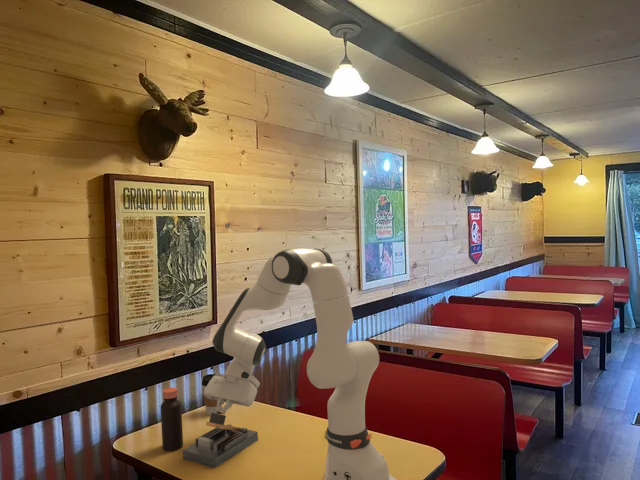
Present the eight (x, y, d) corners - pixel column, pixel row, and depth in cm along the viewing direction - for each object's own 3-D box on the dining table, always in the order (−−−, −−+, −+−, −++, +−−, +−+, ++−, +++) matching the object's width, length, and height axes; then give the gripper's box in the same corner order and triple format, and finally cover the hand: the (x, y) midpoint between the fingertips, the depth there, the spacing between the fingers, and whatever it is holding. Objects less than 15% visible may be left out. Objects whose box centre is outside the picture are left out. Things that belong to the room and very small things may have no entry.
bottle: (170, 441, 173) (168, 386, 173) (187, 443, 171) (184, 387, 170) (158, 450, 167) (155, 392, 166) (175, 452, 165) (172, 394, 164)
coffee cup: (214, 407, 205) (212, 372, 204) (228, 411, 200) (226, 375, 199) (198, 414, 198) (197, 377, 197) (213, 418, 193) (211, 381, 192)
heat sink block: (227, 432, 179) (226, 415, 179) (257, 440, 172) (257, 421, 172) (182, 459, 160) (181, 439, 160) (215, 468, 153) (214, 447, 153)
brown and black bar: (235, 417, 175) (209, 412, 164) (244, 419, 173) (218, 414, 162) (232, 429, 174) (205, 425, 162) (241, 431, 172) (214, 427, 160)
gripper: (210, 368, 177) (192, 404, 169) (255, 375, 166) (238, 414, 158) (219, 377, 181) (202, 412, 173) (263, 384, 170) (247, 422, 162)
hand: (219, 413), depth 165 cm, fingers closed, pressing on brown and black bar
